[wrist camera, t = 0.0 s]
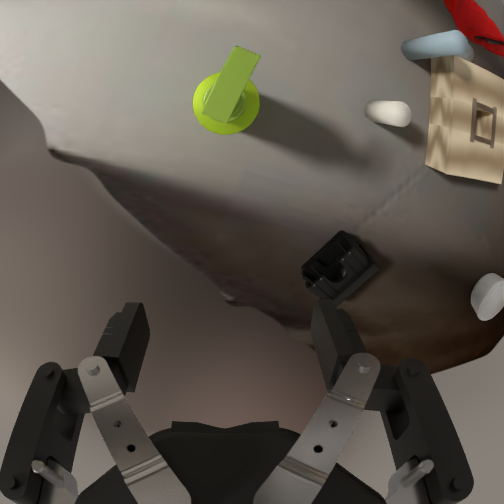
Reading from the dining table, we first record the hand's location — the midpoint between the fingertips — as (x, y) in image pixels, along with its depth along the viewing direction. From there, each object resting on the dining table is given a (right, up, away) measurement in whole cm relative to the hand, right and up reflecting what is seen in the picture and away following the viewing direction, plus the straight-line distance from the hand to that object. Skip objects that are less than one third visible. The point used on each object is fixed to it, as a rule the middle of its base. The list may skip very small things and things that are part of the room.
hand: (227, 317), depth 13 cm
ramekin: (+55, -6, +40) cm, 68 cm away
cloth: (+40, +45, +13) cm, 61 cm away
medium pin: (+18, +23, +22) cm, 37 cm away
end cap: (+14, +2, +33) cm, 36 cm away
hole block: (+35, +25, +22) cm, 49 cm away
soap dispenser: (-2, +22, +22) cm, 31 cm away
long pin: (+24, +33, +17) cm, 44 cm away
